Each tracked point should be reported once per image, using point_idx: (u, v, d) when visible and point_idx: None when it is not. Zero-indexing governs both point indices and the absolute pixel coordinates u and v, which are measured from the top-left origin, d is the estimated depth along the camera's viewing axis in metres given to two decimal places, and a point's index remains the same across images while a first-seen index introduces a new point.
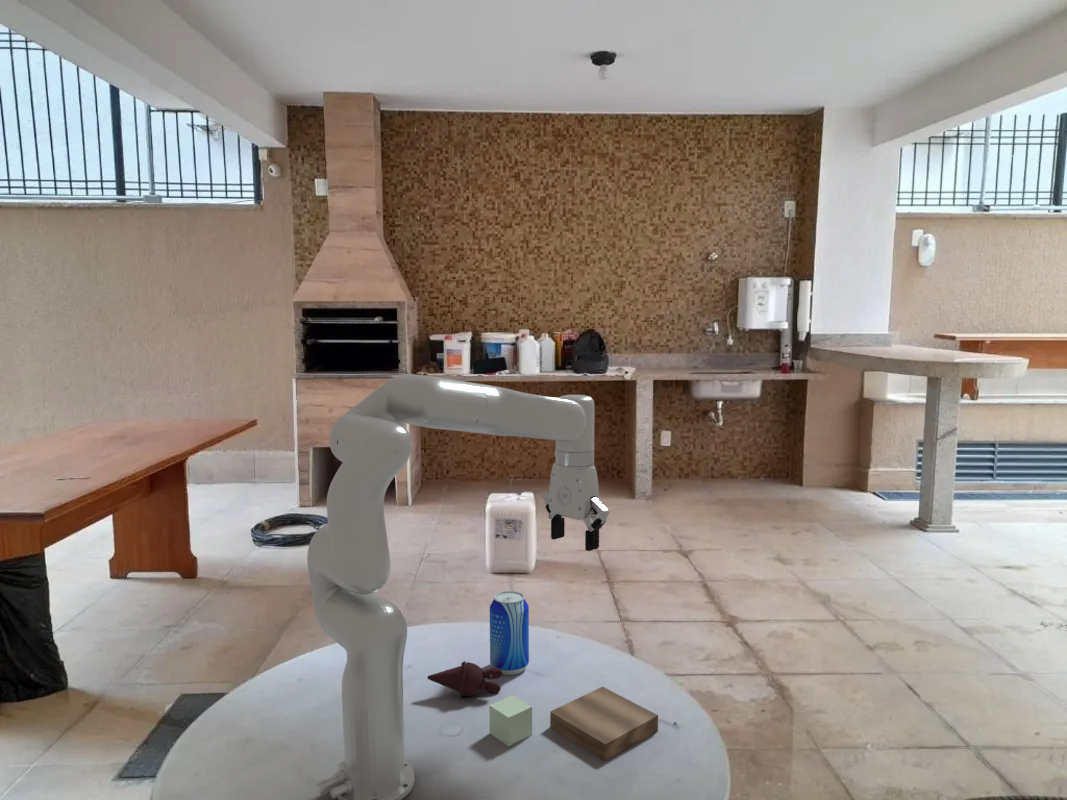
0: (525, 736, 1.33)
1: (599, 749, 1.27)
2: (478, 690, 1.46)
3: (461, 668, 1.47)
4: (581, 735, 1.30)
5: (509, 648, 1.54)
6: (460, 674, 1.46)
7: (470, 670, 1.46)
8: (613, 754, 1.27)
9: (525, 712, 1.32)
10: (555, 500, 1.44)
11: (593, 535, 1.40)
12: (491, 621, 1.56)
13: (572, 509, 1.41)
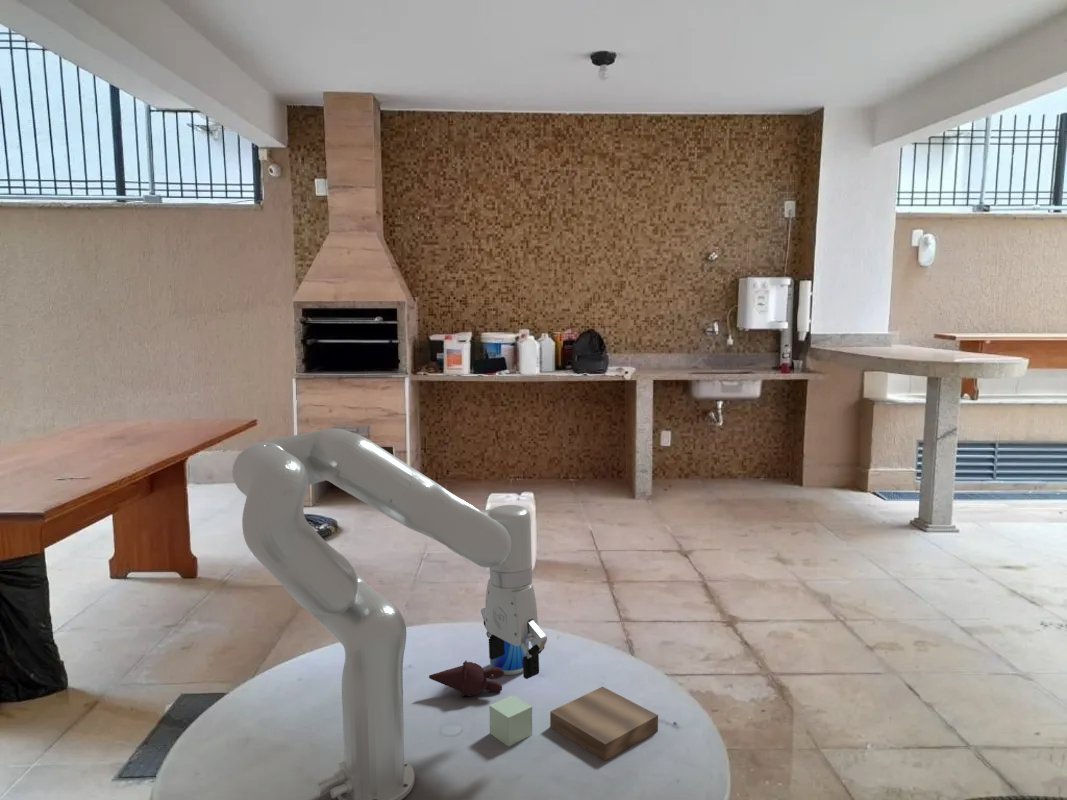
0: (525, 736, 1.33)
1: (599, 749, 1.27)
2: (479, 690, 1.46)
3: (462, 668, 1.47)
4: (581, 735, 1.30)
5: (509, 648, 1.54)
6: (461, 674, 1.46)
7: (471, 670, 1.46)
8: (613, 754, 1.27)
9: (525, 712, 1.32)
10: (491, 620, 1.32)
11: (531, 662, 1.28)
12: None
13: (508, 633, 1.28)
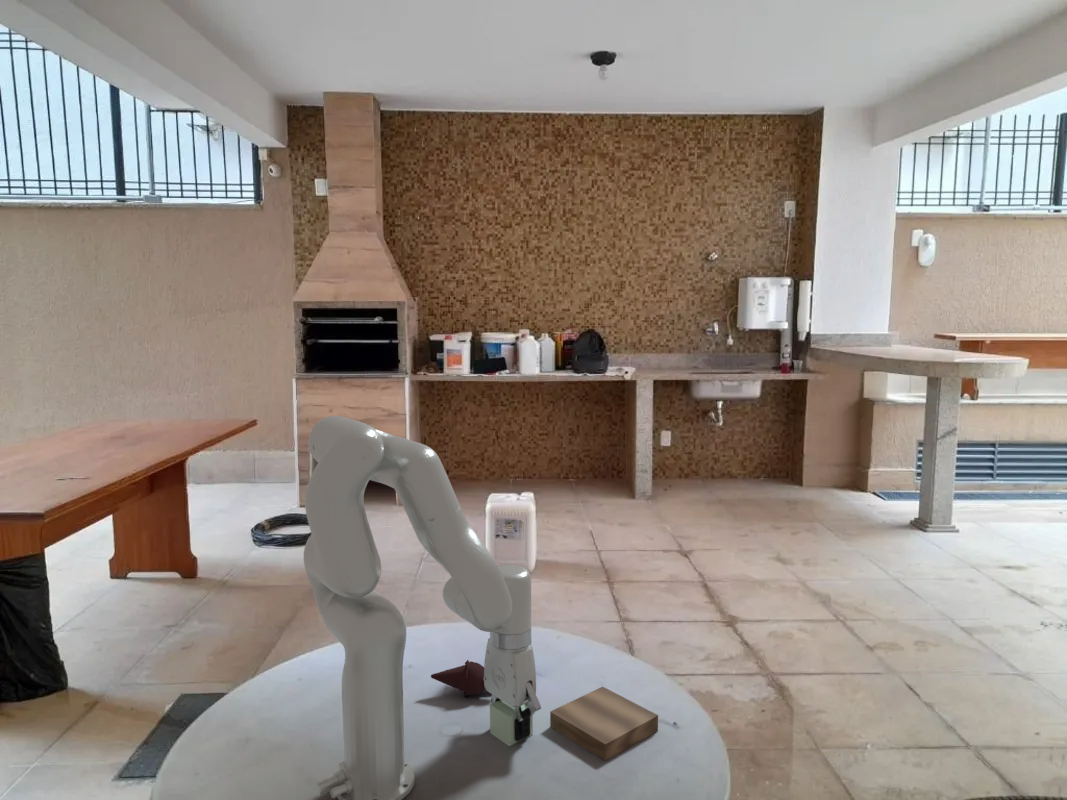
0: None
1: (599, 749, 1.27)
2: (481, 689, 1.46)
3: (464, 667, 1.47)
4: (581, 735, 1.30)
5: None
6: (463, 673, 1.46)
7: (473, 669, 1.46)
8: (613, 754, 1.27)
9: None
10: (490, 680, 1.33)
11: (522, 725, 1.30)
12: None
13: (506, 694, 1.29)
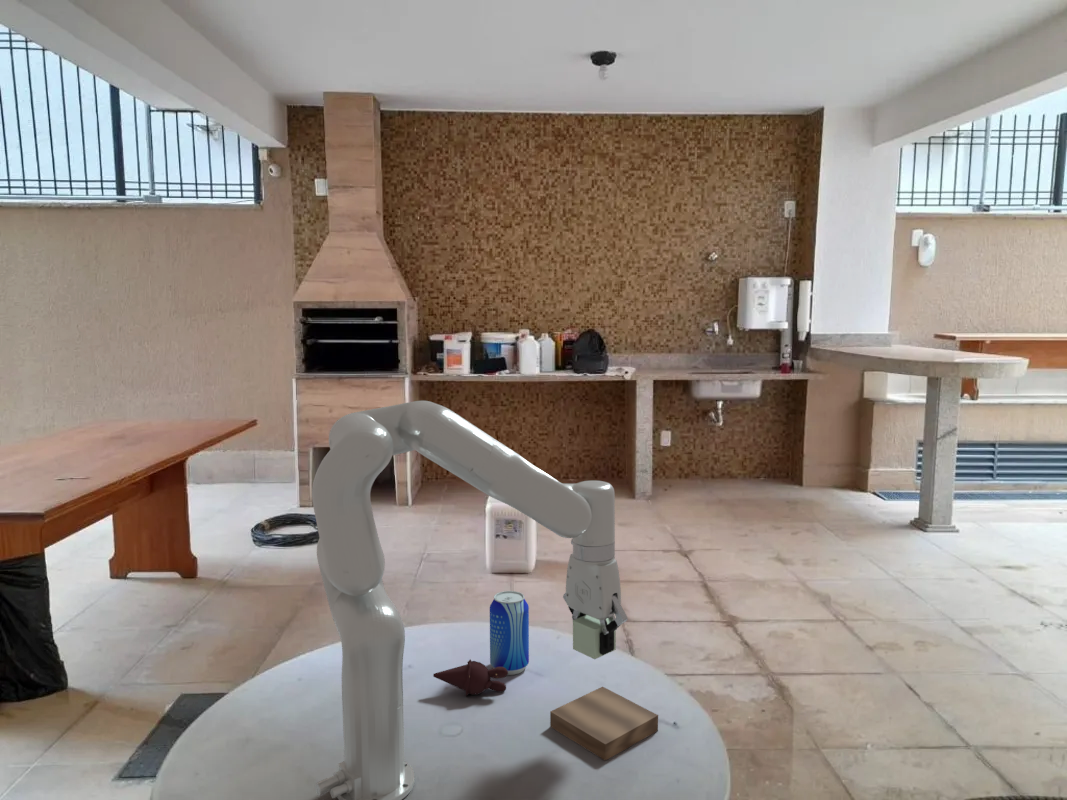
0: None
1: (599, 749, 1.27)
2: (483, 689, 1.46)
3: (466, 666, 1.47)
4: (581, 735, 1.30)
5: (509, 648, 1.54)
6: (465, 672, 1.46)
7: (475, 669, 1.46)
8: (613, 754, 1.27)
9: None
10: (573, 595, 1.33)
11: (608, 638, 1.30)
12: (491, 621, 1.56)
13: (592, 607, 1.29)
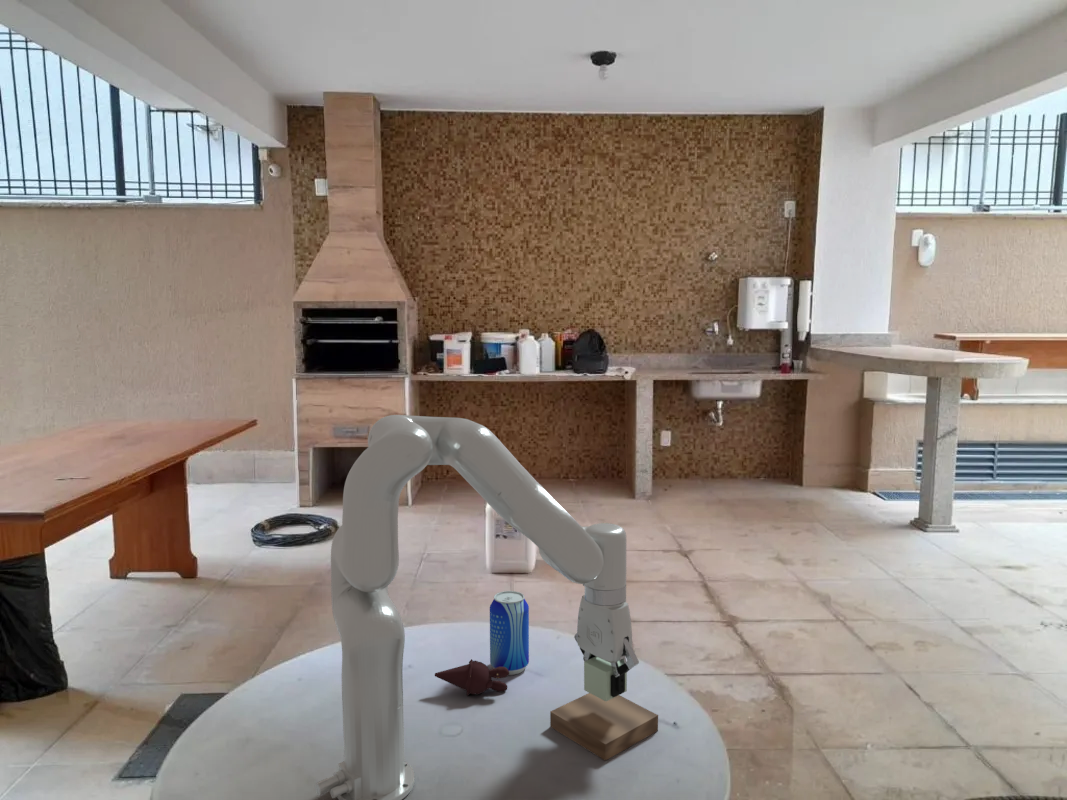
0: None
1: (599, 749, 1.27)
2: (484, 689, 1.46)
3: (468, 666, 1.48)
4: (581, 735, 1.30)
5: (509, 648, 1.54)
6: (466, 672, 1.46)
7: (476, 669, 1.46)
8: (613, 754, 1.27)
9: None
10: (584, 637, 1.34)
11: (619, 680, 1.31)
12: (492, 621, 1.56)
13: (603, 650, 1.30)
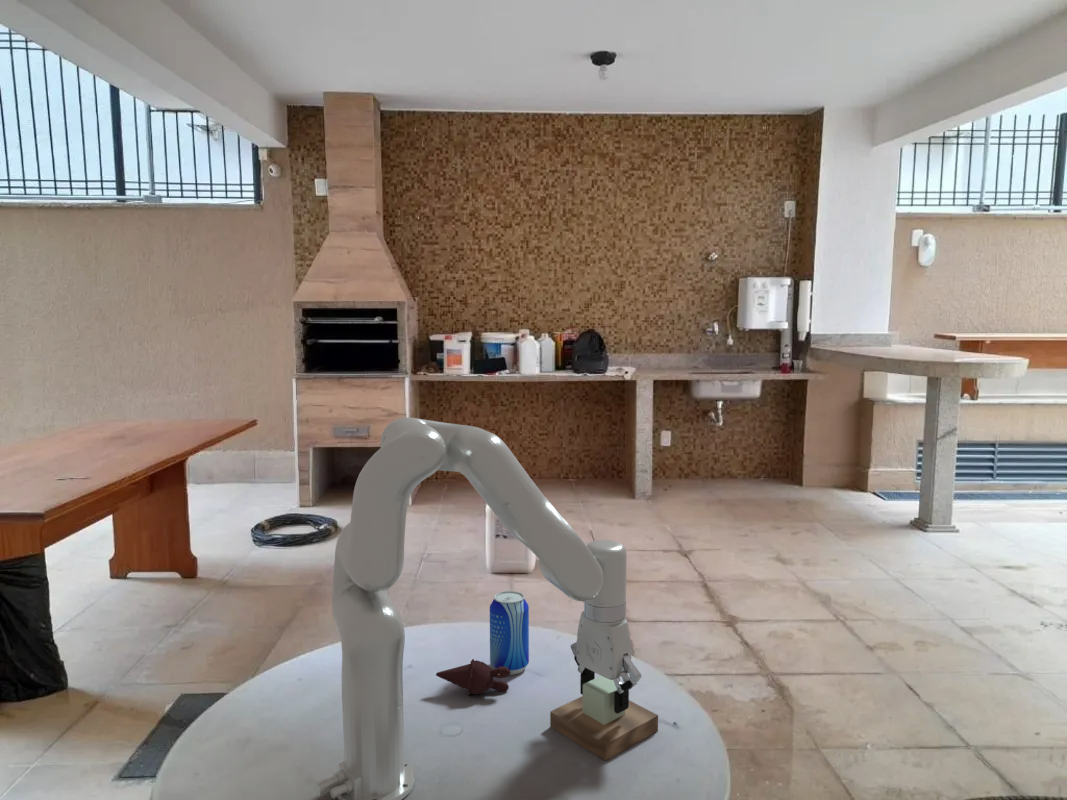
0: (619, 715, 1.34)
1: (599, 749, 1.27)
2: (485, 688, 1.47)
3: (469, 666, 1.48)
4: (581, 735, 1.30)
5: (509, 648, 1.54)
6: (468, 672, 1.47)
7: (477, 668, 1.47)
8: (613, 754, 1.27)
9: None
10: (583, 653, 1.34)
11: (623, 697, 1.30)
12: (491, 621, 1.56)
13: (602, 667, 1.30)
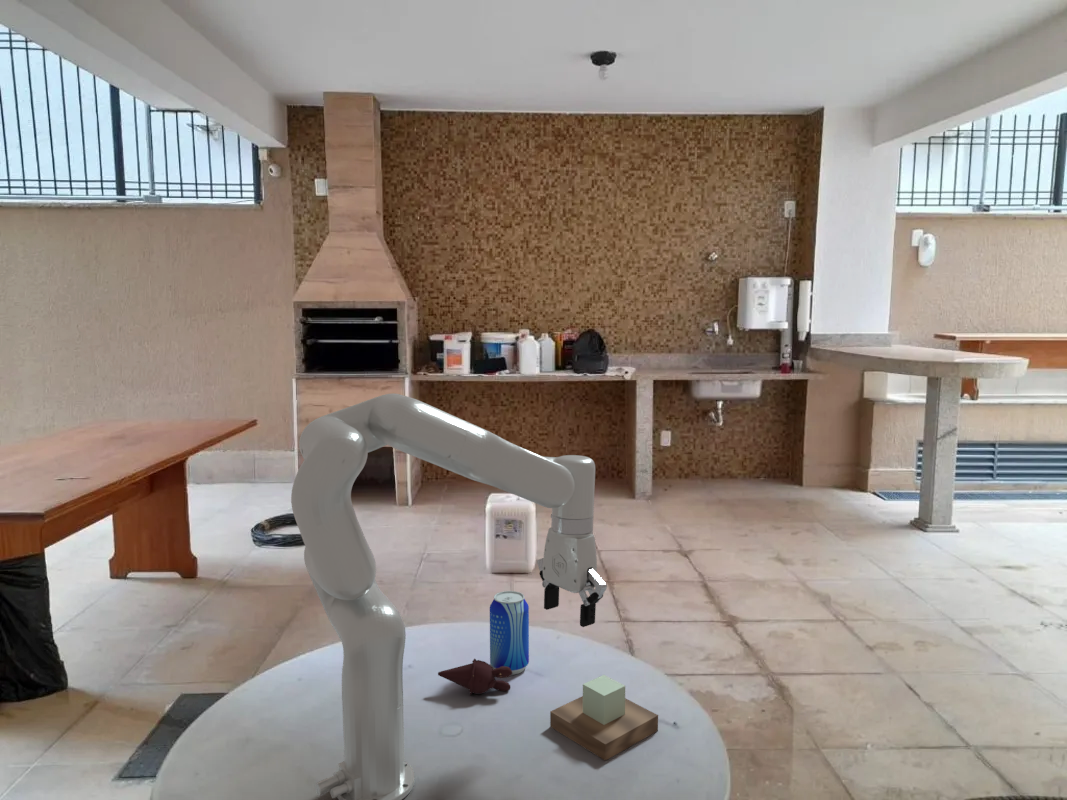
0: (619, 715, 1.34)
1: (599, 749, 1.27)
2: (487, 688, 1.47)
3: (471, 666, 1.48)
4: (581, 735, 1.30)
5: (509, 648, 1.54)
6: (469, 671, 1.47)
7: (479, 668, 1.47)
8: (613, 754, 1.27)
9: (619, 691, 1.33)
10: (549, 568, 1.33)
11: (589, 610, 1.29)
12: (491, 621, 1.56)
13: (567, 580, 1.30)
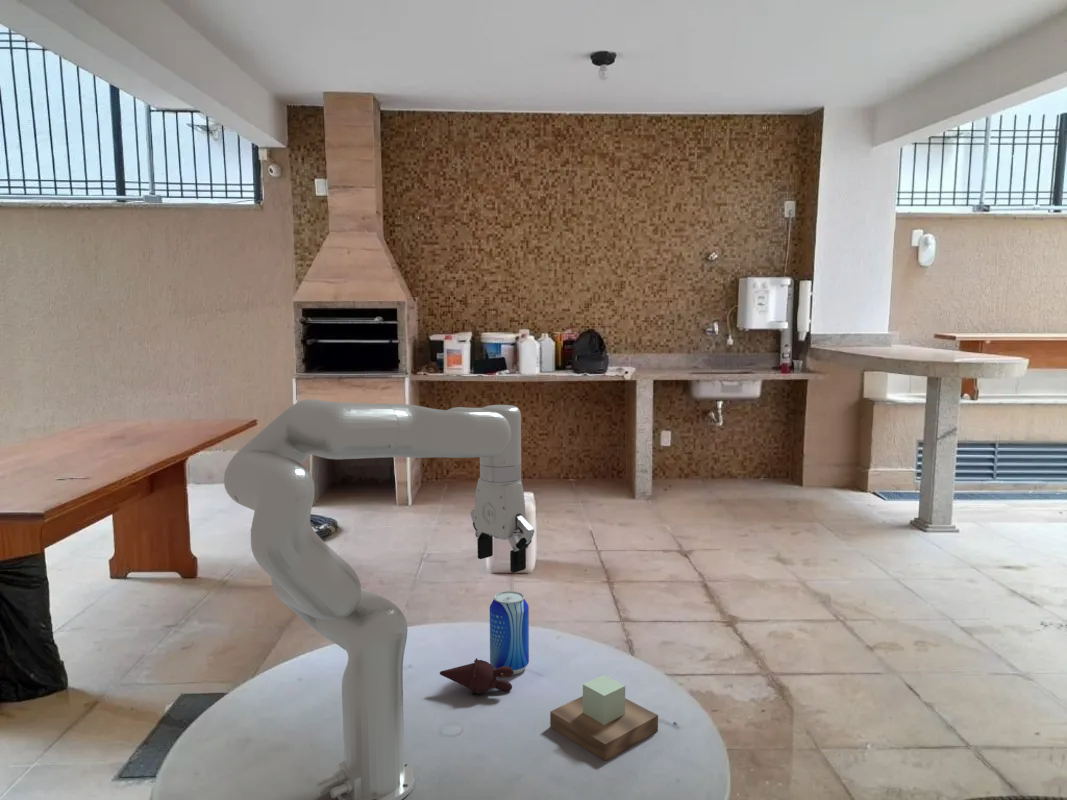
0: (619, 715, 1.34)
1: (599, 749, 1.27)
2: (488, 688, 1.47)
3: (472, 665, 1.48)
4: (581, 735, 1.30)
5: (509, 648, 1.54)
6: (471, 671, 1.47)
7: (480, 668, 1.47)
8: (613, 754, 1.27)
9: (619, 691, 1.33)
10: (480, 517, 1.35)
11: (518, 556, 1.30)
12: (491, 621, 1.56)
13: (496, 528, 1.31)
